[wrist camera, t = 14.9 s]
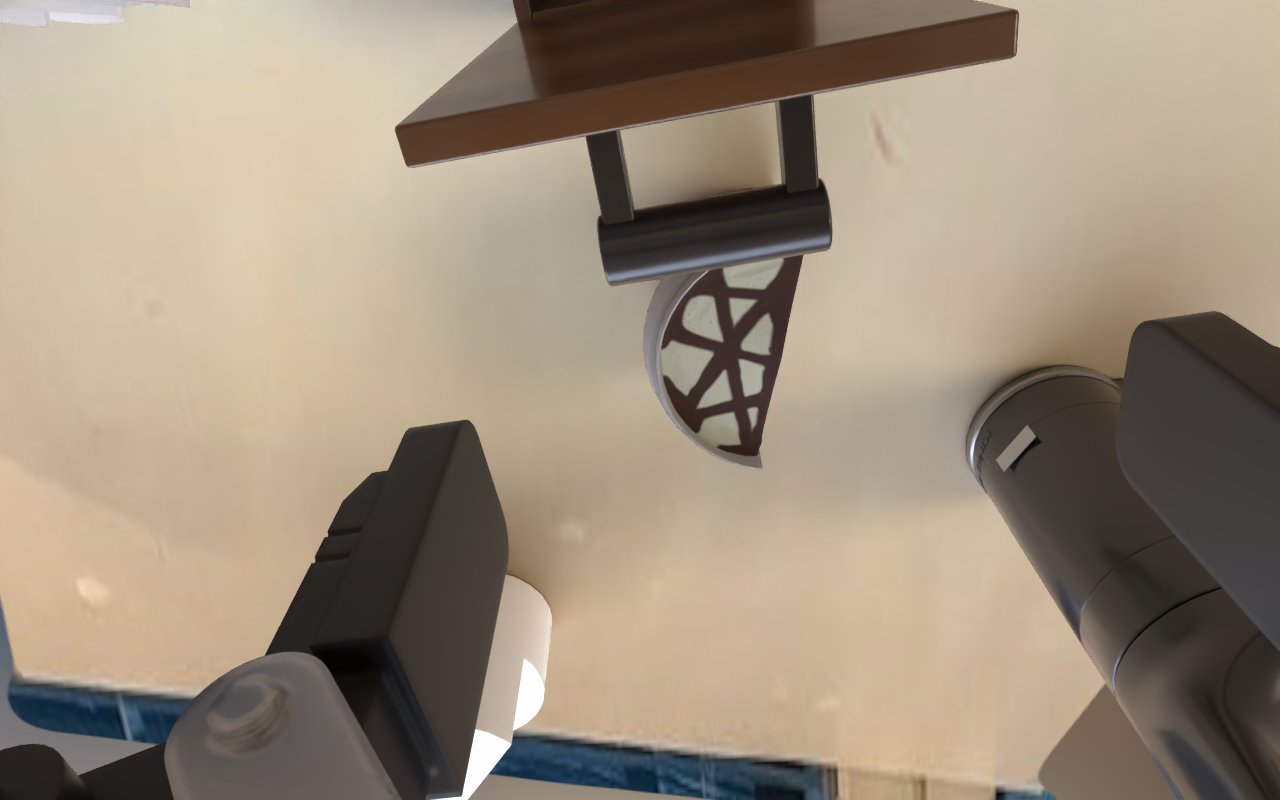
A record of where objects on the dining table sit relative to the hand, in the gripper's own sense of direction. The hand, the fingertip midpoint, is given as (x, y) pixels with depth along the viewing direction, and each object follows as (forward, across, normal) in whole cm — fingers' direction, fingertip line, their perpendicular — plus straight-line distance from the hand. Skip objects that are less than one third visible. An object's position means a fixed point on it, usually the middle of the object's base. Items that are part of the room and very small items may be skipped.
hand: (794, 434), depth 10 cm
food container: (+32, 0, +10) cm, 34 cm away
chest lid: (+16, 0, -3) cm, 16 cm away
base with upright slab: (+32, +18, +34) cm, 50 cm away
